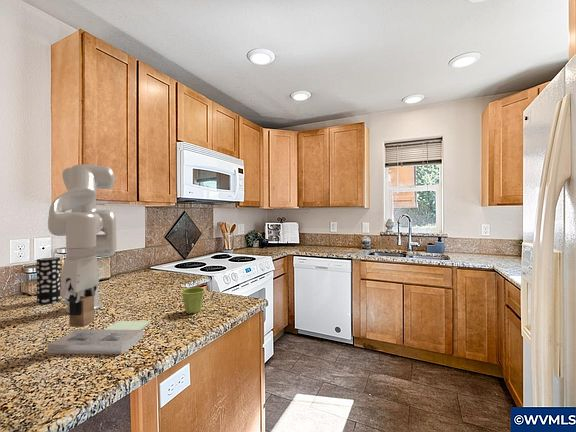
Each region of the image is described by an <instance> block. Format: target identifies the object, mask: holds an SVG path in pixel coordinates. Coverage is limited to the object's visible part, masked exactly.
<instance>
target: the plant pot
mask: <svg viewBox="0 0 576 432" xmlns="http://www.w3.org/2000/svg"><path fill="white" fill-rule="evenodd" d="M205 291H206V289H205V288H203V287H188V288H185V289H182V290H181V291H180V293H181V296H182V298H183V305H184V310H185V313H187V314H192V313H193V314H197V313H200V312H201V310H202V305H203V297H204V293H205Z"/></svg>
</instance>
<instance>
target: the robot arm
mask: <svg viewBox="0 0 576 432" xmlns="http://www.w3.org/2000/svg"><path fill="white" fill-rule="evenodd" d="M61 176H62V181H63V184H64V186H65V188H66V190H67V191H66V192H64V193H62V194H60V195H58V196H57V197H56V198H55V199H54V200H53V201H52V202H51V204H50V206H49V210H48V218H47V219H48V220H47V229H48V231H49V233H50V234H52V236H56V237H57V236H58V237H64V236H65V254H66V255H65V256H66V257H65V259H64V261H63V263H62V269H61V275H60V298H61V297H62V298H63V299H64V300H63V302H62V305H67V307H66V308H65V312H66V313H67V314H69V303H70V315H81V302H79V301H80V296H94V311H95V310H98V309H100V308H101V307H102V306H103V303H102V302H101V301H98V300H99V298H98V297H99V296H98V295H99V292H98V291H99V290H98V288H99V285H100V284H101V282H100V279H99V278H100V274H99V273H100V272H99V264H98V257H107V256H112V255H114V254H115V253H116V251H117V218H116V215H115V212H113V211H112V210H110V209H97V207H96V206H97V203H96V202H97V201H96V199H97V197H98V192H97V190H109V189H110V190H111V189H112V188H113V186H114V184H115V180H116V178H115V173H114V170H113V169H112V167H109V166H106V165H96V164H80V163H79V164H75V165H73V166H72V167H66V168H64V169H63V171H62V175H61ZM70 210H71V212H70ZM68 211H69V212H68ZM100 232H103V234H99V233H100Z"/></svg>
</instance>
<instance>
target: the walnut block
mask: <svg viewBox="0 0 576 432" xmlns="http://www.w3.org/2000/svg"><path fill="white" fill-rule="evenodd" d="M79 302H81V315H70V303H69V313H68V315H69V317H68V318H69V326H68V327H70V328H71V327H73V328H75V327H76V328H85V327H86V326H88V325H90V324H92V323H94V322H95V310H94V296H80V301H79Z"/></svg>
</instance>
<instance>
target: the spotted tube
mask: <svg viewBox="0 0 576 432" xmlns="http://www.w3.org/2000/svg"><path fill="white" fill-rule="evenodd" d="M58 301H59V302H60V301H61V257H43V258H38V259H36V305H40V306H41V305H42V306H43V305H52V304H56V303H58Z"/></svg>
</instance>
